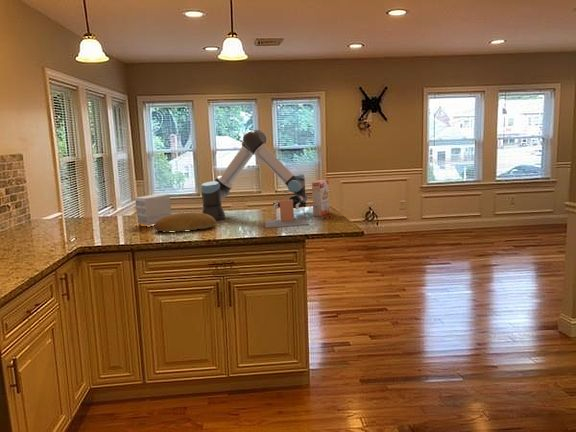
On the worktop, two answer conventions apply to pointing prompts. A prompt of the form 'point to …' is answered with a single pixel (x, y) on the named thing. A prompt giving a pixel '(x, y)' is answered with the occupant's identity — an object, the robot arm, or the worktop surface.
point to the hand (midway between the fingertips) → (285, 207)
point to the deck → (286, 210)
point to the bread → (185, 222)
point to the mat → (286, 223)
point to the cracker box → (320, 197)
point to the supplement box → (152, 208)
